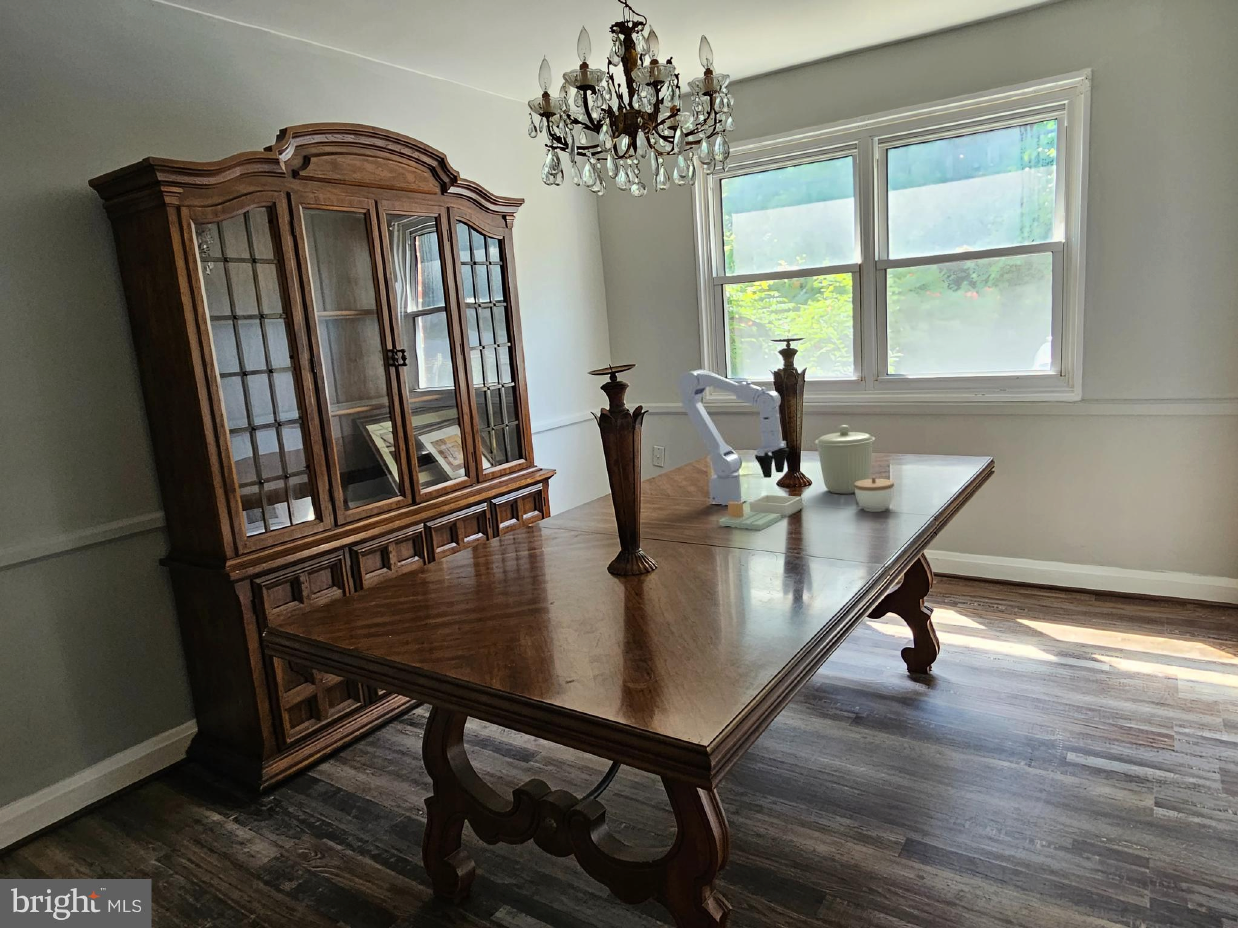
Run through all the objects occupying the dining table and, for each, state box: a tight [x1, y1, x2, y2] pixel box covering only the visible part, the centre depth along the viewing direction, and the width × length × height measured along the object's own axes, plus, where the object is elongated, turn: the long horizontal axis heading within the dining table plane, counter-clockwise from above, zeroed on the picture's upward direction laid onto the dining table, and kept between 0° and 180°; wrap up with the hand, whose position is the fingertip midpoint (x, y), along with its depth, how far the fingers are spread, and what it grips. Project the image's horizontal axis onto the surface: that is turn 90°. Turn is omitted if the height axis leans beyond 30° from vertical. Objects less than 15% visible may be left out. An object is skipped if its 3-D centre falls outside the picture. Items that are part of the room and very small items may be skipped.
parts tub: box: [748, 494, 804, 518], centre depth 226 cm, size 12×10×4 cm
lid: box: [718, 502, 782, 530], centre depth 216 cm, size 13×11×6 cm
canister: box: [814, 424, 876, 495], centre depth 242 cm, size 18×18×21 cm
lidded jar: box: [854, 476, 895, 513], centre depth 217 cm, size 11×11×9 cm
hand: (773, 474), depth 233 cm, fingers open, 7 cm apart
